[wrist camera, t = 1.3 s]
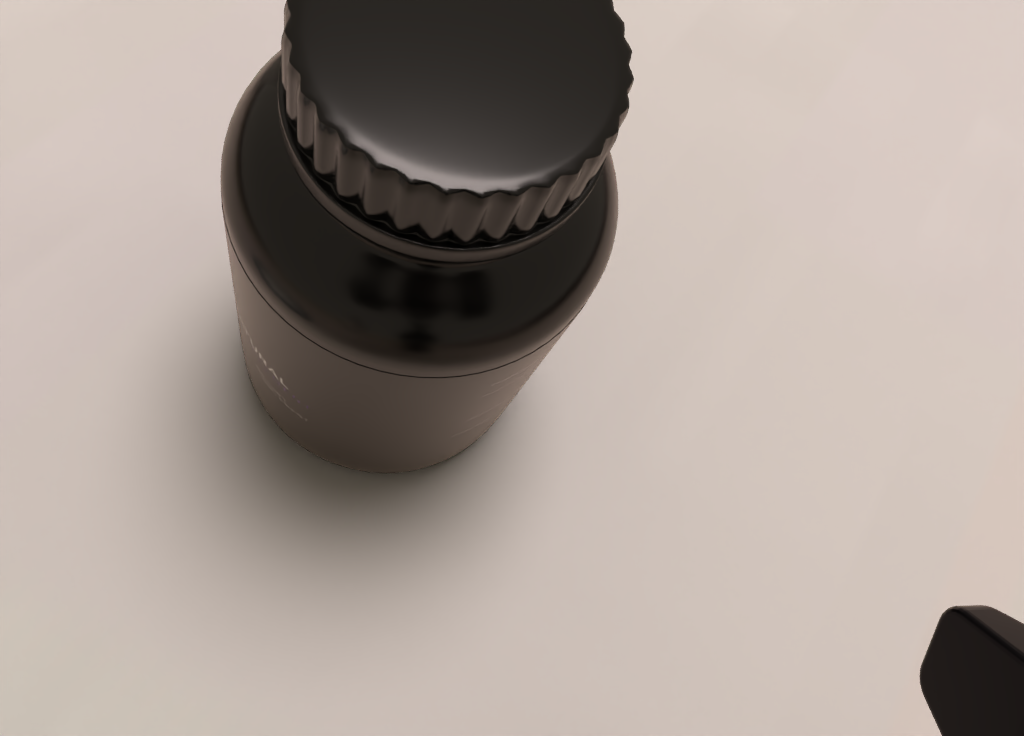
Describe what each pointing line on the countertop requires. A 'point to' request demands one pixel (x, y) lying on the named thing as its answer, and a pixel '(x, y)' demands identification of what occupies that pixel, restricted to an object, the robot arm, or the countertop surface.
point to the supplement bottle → (419, 213)
